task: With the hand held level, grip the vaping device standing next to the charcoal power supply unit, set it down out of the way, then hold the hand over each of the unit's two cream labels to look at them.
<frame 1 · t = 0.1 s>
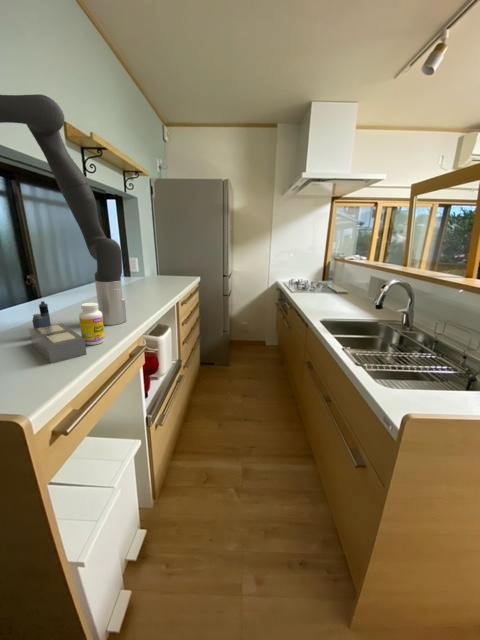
vaping device: (44, 337, 92), on the worktop
supplement bottle: (94, 342, 89), on the worktop
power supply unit: (58, 348, 83), on the worktop
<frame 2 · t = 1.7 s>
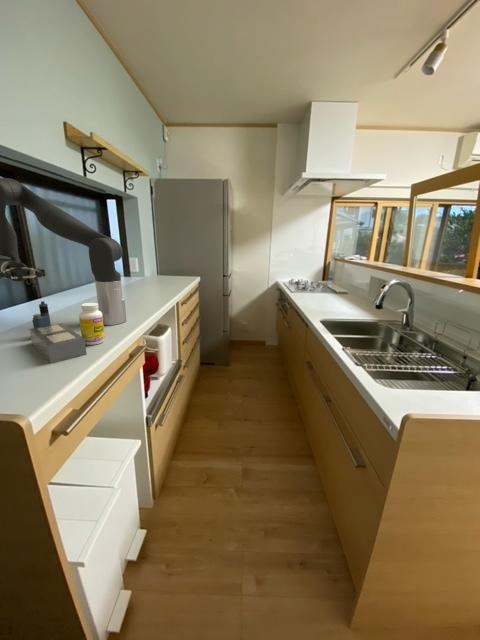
hand: (25, 275, 94), 20 cm above the worktop, tool horizontal, fingers open, 8 cm apart
nothing on the worktop moved.
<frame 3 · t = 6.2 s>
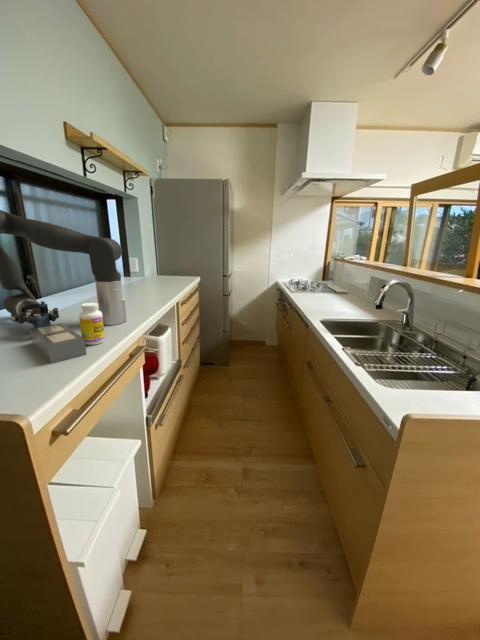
hand: (43, 319, 89), 7 cm above the worktop, tool horizontal, fingers closed on vaping device, 5 cm apart
vaping device: (44, 337, 92), on the worktop, touching gripper
everything else where it was.
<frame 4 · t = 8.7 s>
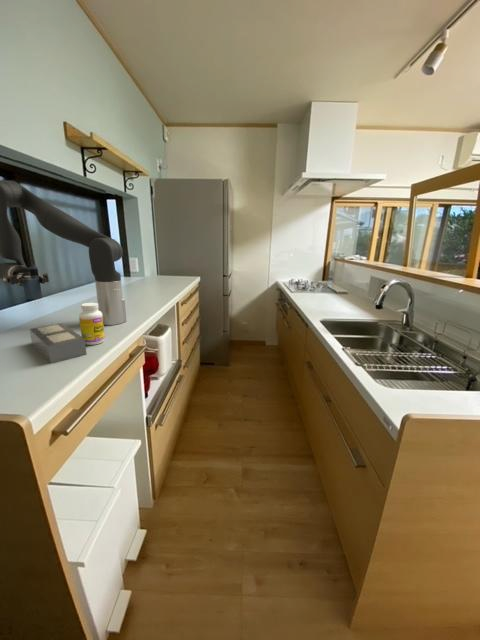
hand: (33, 281, 94), 18 cm above the worktop, tool horizontal, fingers closed on vaping device, 5 cm apart
vaping device: (34, 298, 98), point 11 cm above the worktop, touching gripper
everything else where it was.
when the fingers open (8 cm above the worktop, at t = 11.2 s): vaping device drops 1 cm, on the worktop.
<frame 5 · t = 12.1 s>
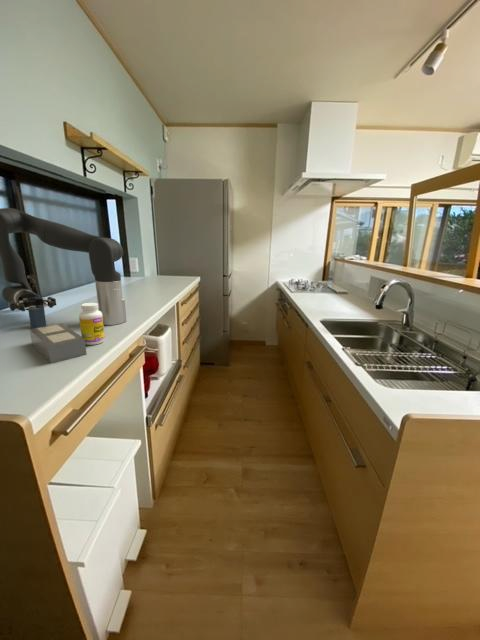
hand: (37, 306, 99), 8 cm above the worktop, tool horizontal, fingers open, 8 cm apart
vaping device: (39, 326, 102), on the worktop
everything else where it was.
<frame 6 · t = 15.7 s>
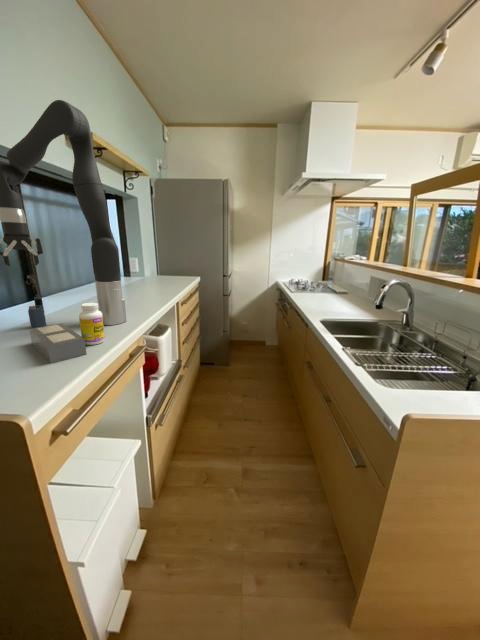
hand: (22, 265, 105), 22 cm above the worktop, tool pointing down, fingers open, 8 cm apart
nothing on the worktop moved.
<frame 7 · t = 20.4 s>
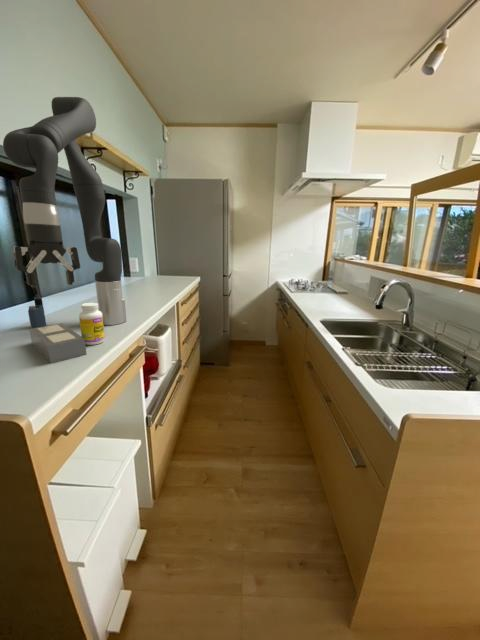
hand: (52, 285, 74), 20 cm above the worktop, tool pointing down, fingers open, 8 cm apart
nothing on the worktop moved.
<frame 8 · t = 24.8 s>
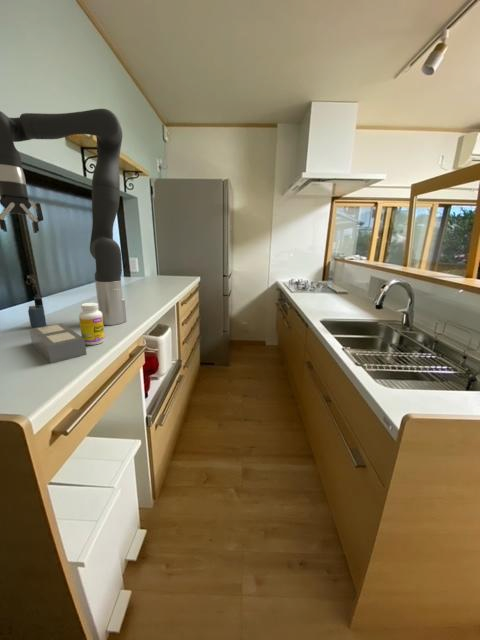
hand: (21, 232, 95), 34 cm above the worktop, tool pointing down, fingers open, 8 cm apart
nothing on the worktop moved.
at the end: vaping device inside the target area (0.3 cm from its centre), on the worktop; vaping device tilted 0°; the gripper is holding nothing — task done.
